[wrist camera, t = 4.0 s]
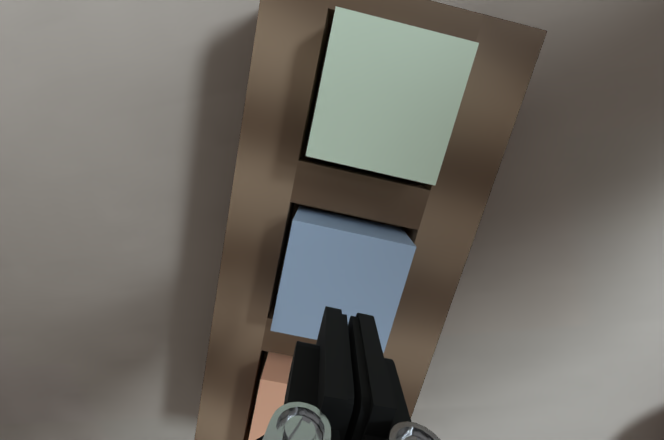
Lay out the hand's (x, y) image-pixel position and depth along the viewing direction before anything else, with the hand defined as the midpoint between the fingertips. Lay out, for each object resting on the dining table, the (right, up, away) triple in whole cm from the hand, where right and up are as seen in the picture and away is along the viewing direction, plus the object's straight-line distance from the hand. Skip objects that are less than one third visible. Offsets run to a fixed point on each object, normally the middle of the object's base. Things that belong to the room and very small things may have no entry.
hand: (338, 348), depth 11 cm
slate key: (0, +2, +7) cm, 7 cm away
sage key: (+2, +10, +5) cm, 11 cm away
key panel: (0, +3, +9) cm, 10 cm away
